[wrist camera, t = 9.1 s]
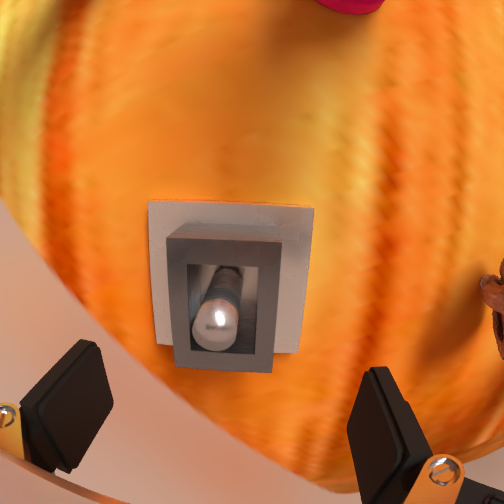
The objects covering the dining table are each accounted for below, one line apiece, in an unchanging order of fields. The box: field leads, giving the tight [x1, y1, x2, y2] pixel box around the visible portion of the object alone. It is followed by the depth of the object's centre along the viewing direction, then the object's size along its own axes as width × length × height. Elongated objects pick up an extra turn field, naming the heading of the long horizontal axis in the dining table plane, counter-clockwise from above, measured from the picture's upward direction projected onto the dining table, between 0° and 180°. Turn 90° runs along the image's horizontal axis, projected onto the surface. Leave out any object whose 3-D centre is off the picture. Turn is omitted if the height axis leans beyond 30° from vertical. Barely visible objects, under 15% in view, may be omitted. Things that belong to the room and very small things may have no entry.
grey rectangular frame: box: [166, 223, 282, 373], centre depth 17 cm, size 8×6×4 cm
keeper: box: [148, 199, 314, 353], centre depth 17 cm, size 10×10×7 cm
